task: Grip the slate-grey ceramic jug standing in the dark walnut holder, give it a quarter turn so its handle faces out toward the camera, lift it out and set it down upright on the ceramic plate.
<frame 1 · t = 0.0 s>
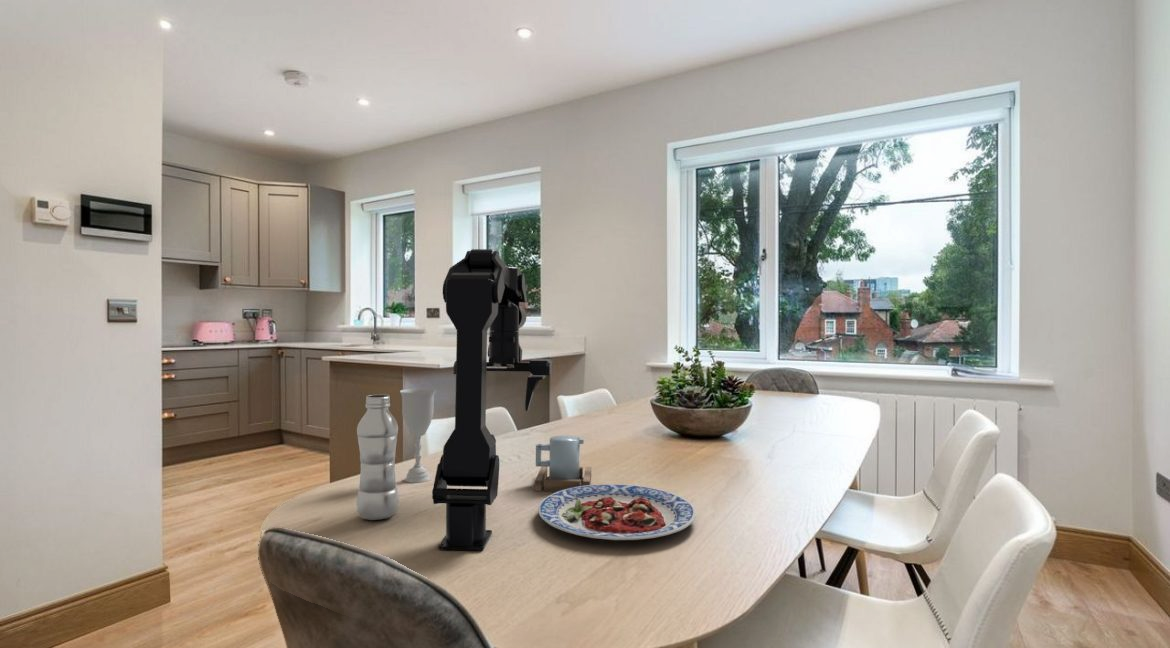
hand: (503, 410, 110), 15 cm above the table, fingers open, 9 cm apart
jug holder: (564, 483, 112), on the table
chalice: (417, 480, 114), on the table
plastic bottle: (377, 518, 92), on the table
ceramic plate: (616, 521, 92), on the table
jug: (559, 461, 112), in the jug holder
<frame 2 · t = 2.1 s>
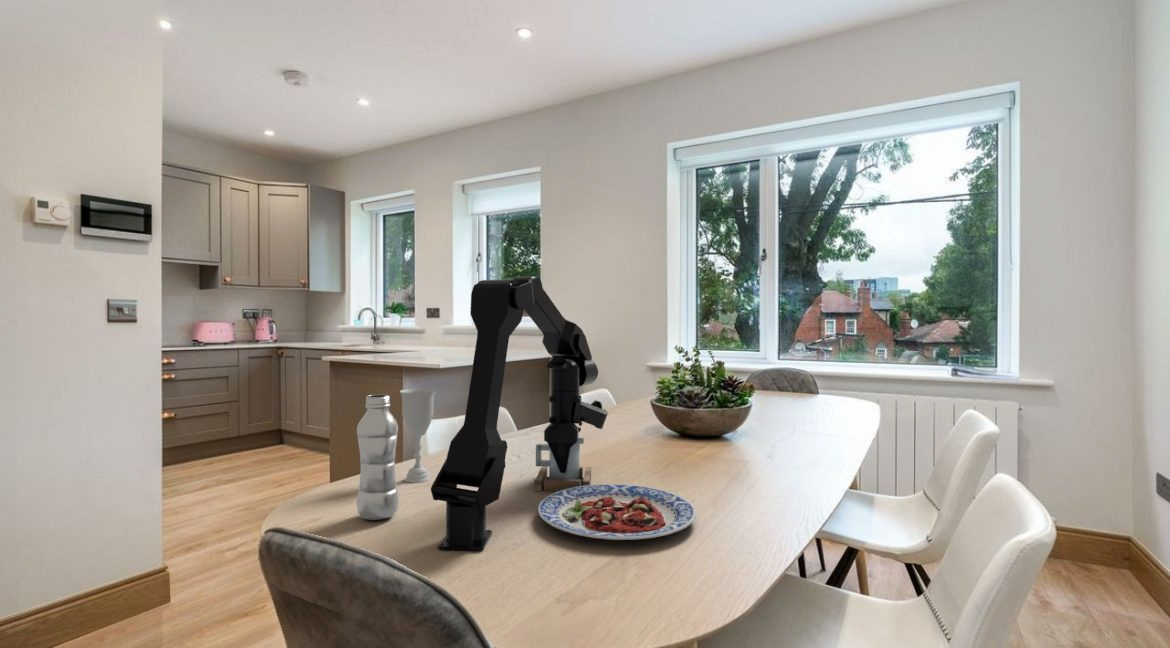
hand: (564, 468, 112), 3 cm above the table, fingers closed on jug, 6 cm apart
jug: (559, 460, 112), in the jug holder, touching gripper
everything else where it was.
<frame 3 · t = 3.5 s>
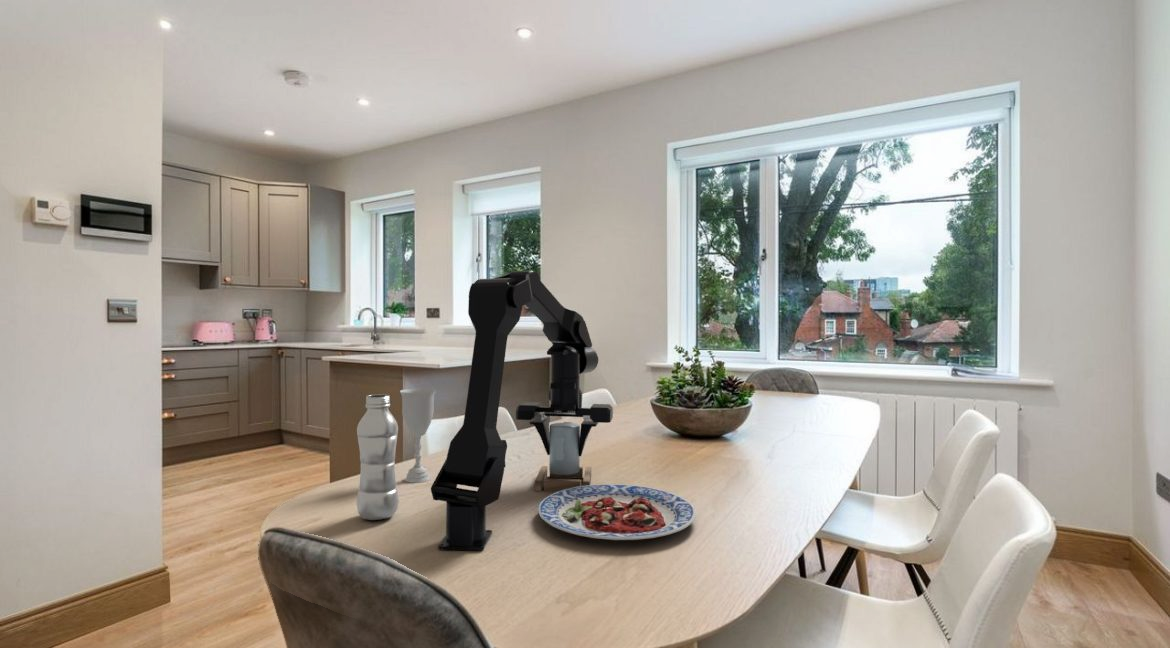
hand: (564, 455, 112), 6 cm above the table, fingers closed on jug, 6 cm apart
jug: (563, 449, 111), point 7 cm above the table, touching gripper
everything else where it was.
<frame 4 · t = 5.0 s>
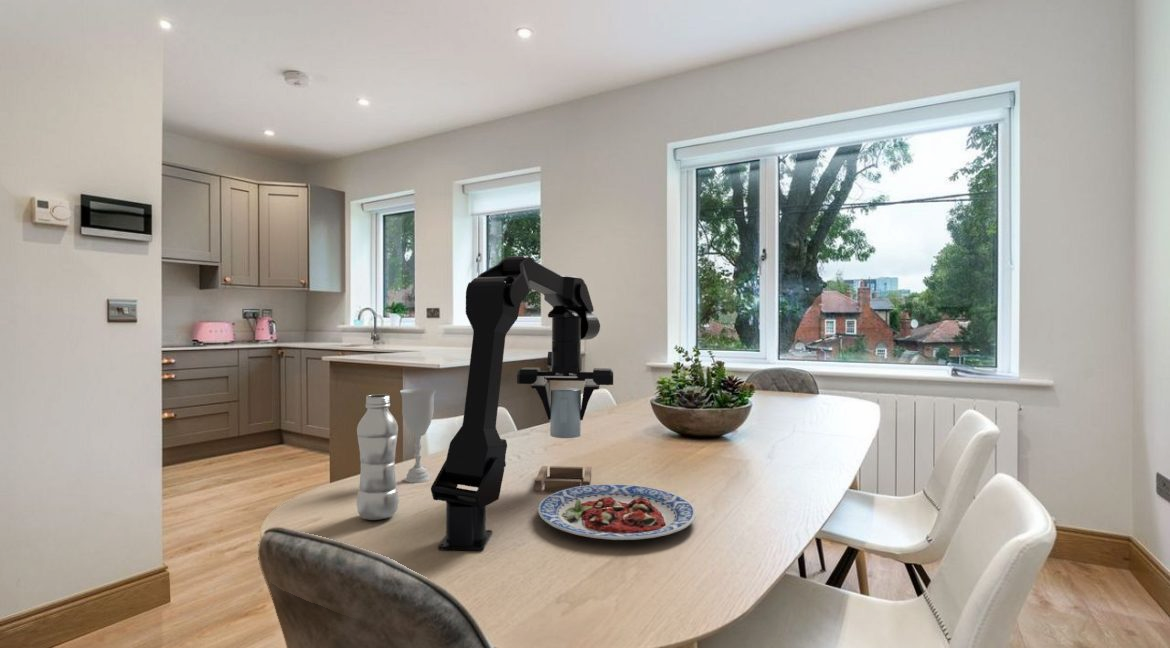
hand: (565, 419, 111), 13 cm above the table, fingers closed on jug, 6 cm apart
jug: (565, 413, 110), point 14 cm above the table, touching gripper
everything else where it was.
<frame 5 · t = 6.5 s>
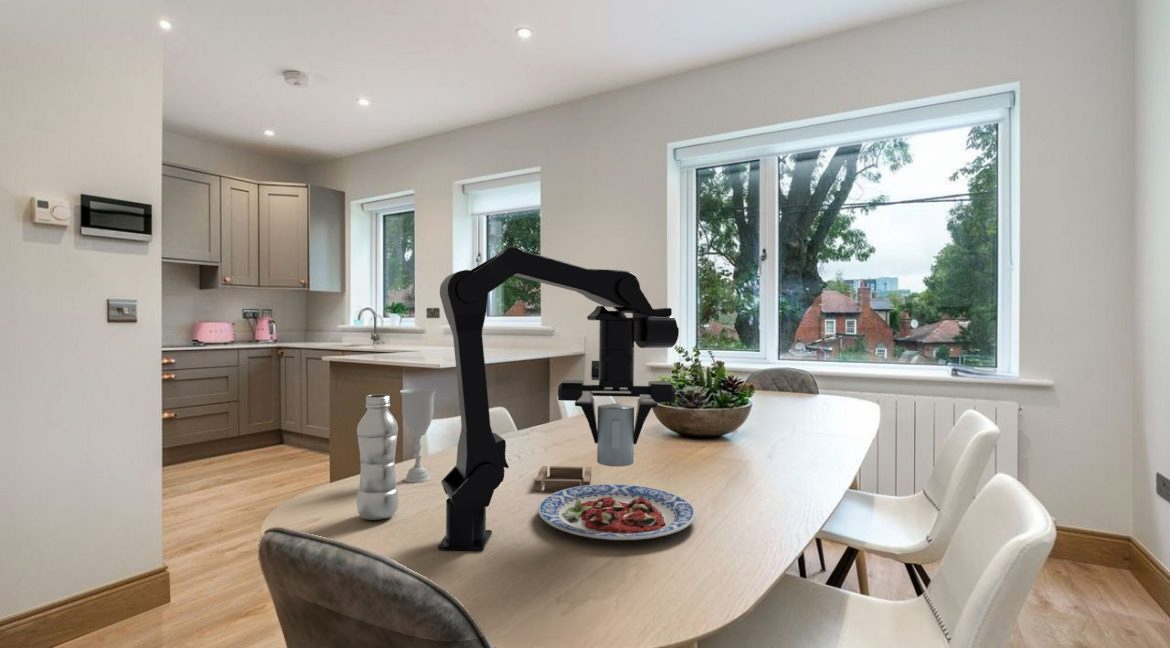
hand: (615, 443, 92), 12 cm above the table, fingers closed on jug, 6 cm apart
jug: (615, 435, 91), point 14 cm above the table, touching gripper
everything else where it was.
when the fingers open (7 cm above the table, at t = 7.8 s): jug drops 2 cm, resting on ceramic plate.
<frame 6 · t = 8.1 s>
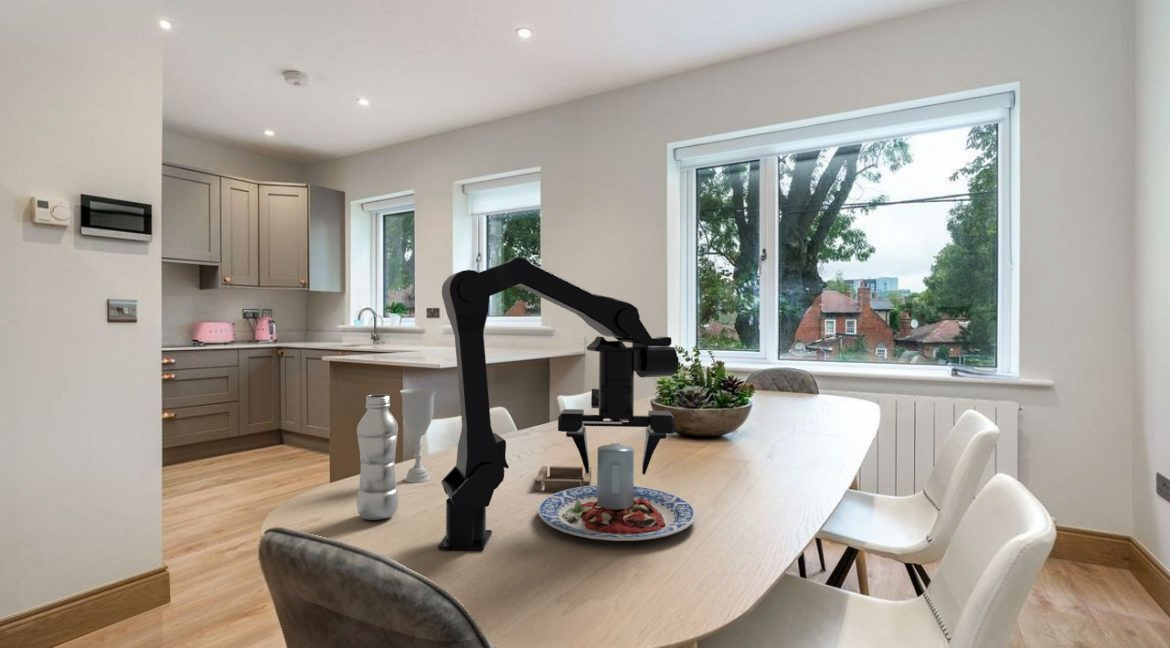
hand: (615, 473, 92), 7 cm above the table, fingers open, 9 cm apart
ceramic plate: (616, 522, 92), on the table, touching jug
jug: (615, 477, 91), point 7 cm above the table, touching ceramic plate
everything else where it was.
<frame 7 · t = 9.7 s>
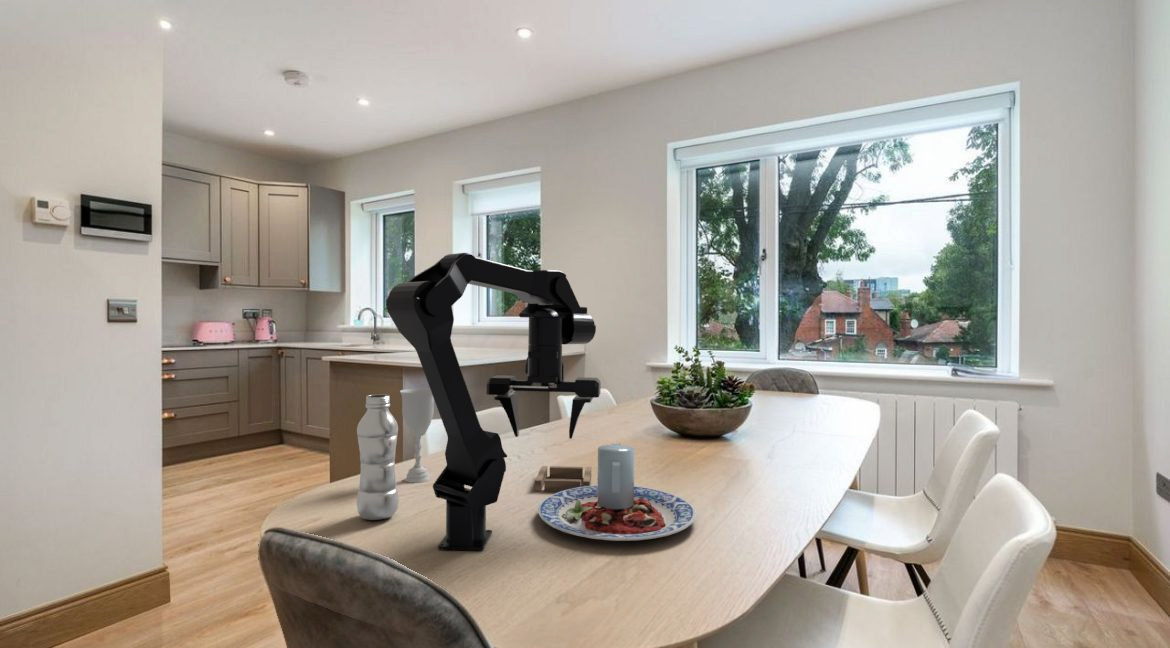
hand: (543, 437, 95), 13 cm above the table, fingers open, 9 cm apart
nothing on the table moved.
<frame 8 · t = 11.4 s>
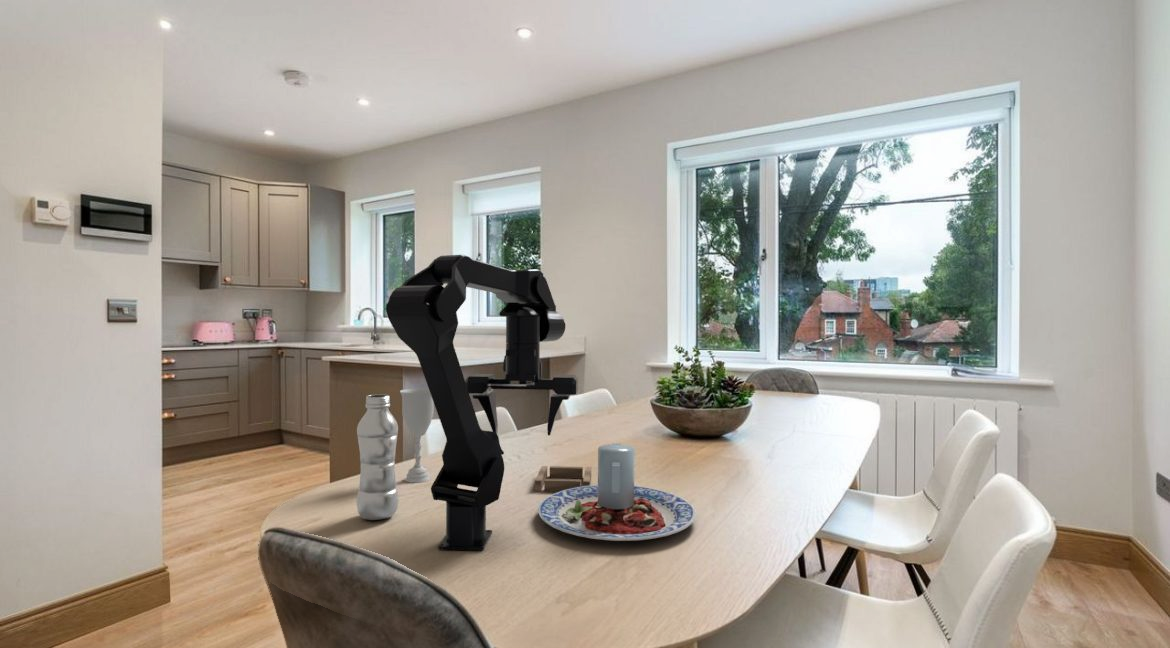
hand: (522, 434, 96), 13 cm above the table, fingers open, 9 cm apart
nothing on the table moved.
at the end: jug inside the target area (0.0 cm from its centre), point 7.1 cm above the table; jug touching ceramic plate; jug tilted 0° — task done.
